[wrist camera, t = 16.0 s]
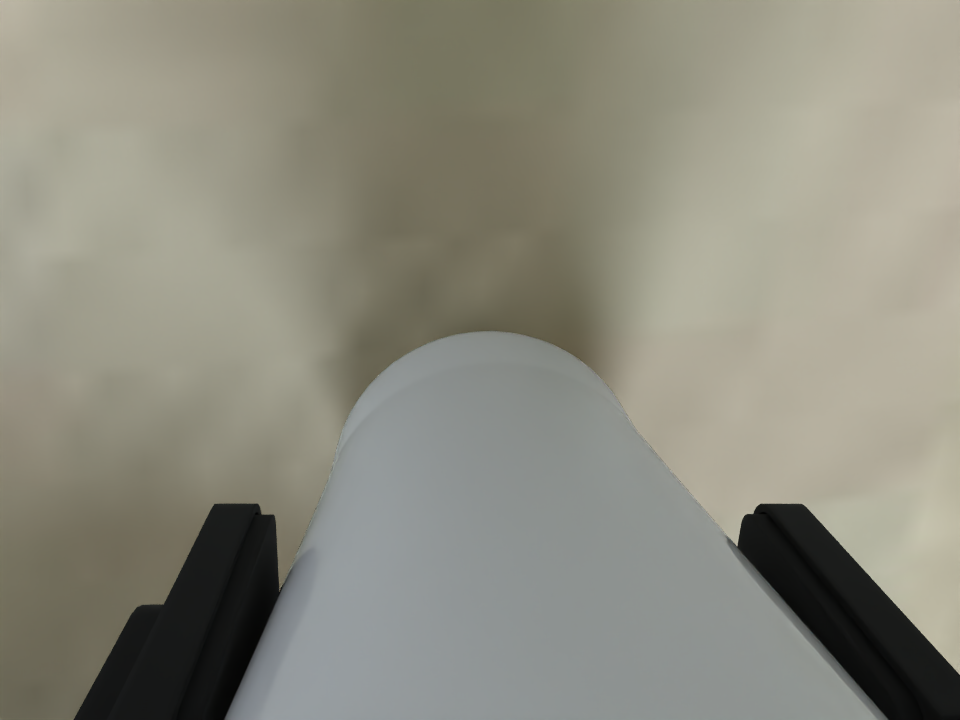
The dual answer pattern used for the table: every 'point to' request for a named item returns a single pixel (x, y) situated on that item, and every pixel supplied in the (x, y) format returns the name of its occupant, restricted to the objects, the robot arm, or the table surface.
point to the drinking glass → (523, 567)
